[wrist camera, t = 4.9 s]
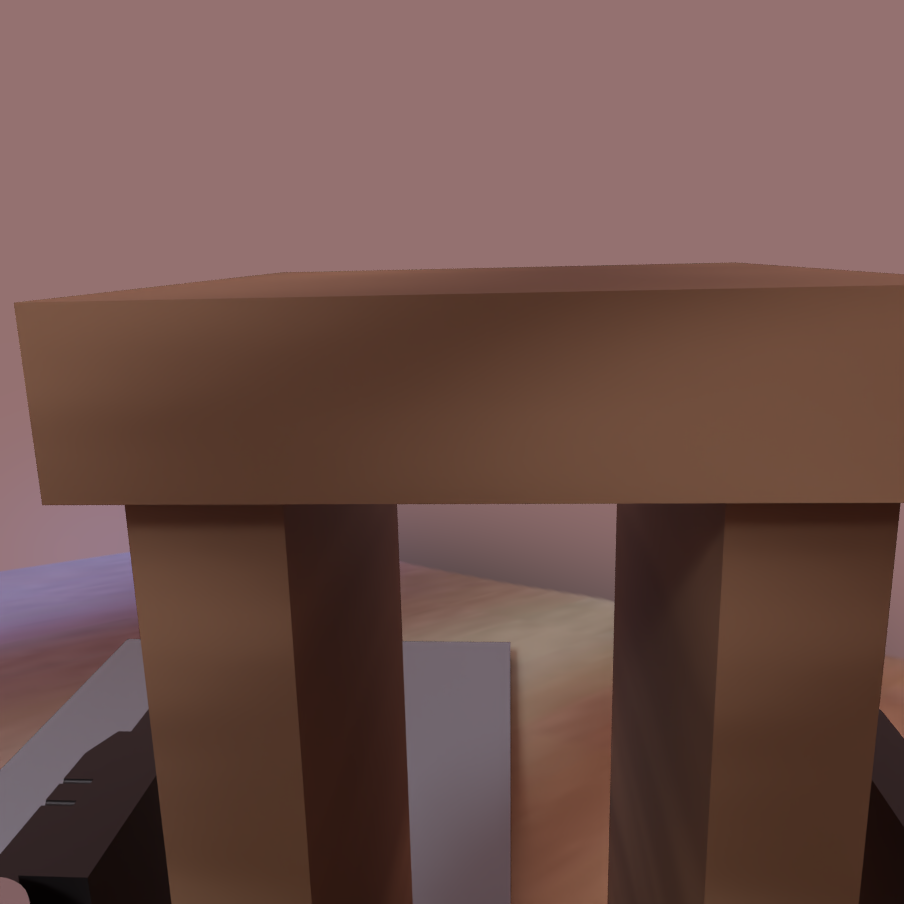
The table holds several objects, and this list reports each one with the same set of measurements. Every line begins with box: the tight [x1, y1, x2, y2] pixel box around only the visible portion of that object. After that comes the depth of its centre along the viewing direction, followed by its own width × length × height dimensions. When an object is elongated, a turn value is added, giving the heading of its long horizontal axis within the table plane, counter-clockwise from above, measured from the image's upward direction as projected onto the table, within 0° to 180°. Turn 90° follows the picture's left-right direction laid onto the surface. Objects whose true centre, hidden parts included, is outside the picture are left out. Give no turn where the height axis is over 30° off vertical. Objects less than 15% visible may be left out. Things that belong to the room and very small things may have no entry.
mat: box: [0, 639, 511, 904], centre depth 24 cm, size 14×14×1 cm
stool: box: [14, 263, 904, 904], centre depth 10 cm, size 6×7×14 cm
